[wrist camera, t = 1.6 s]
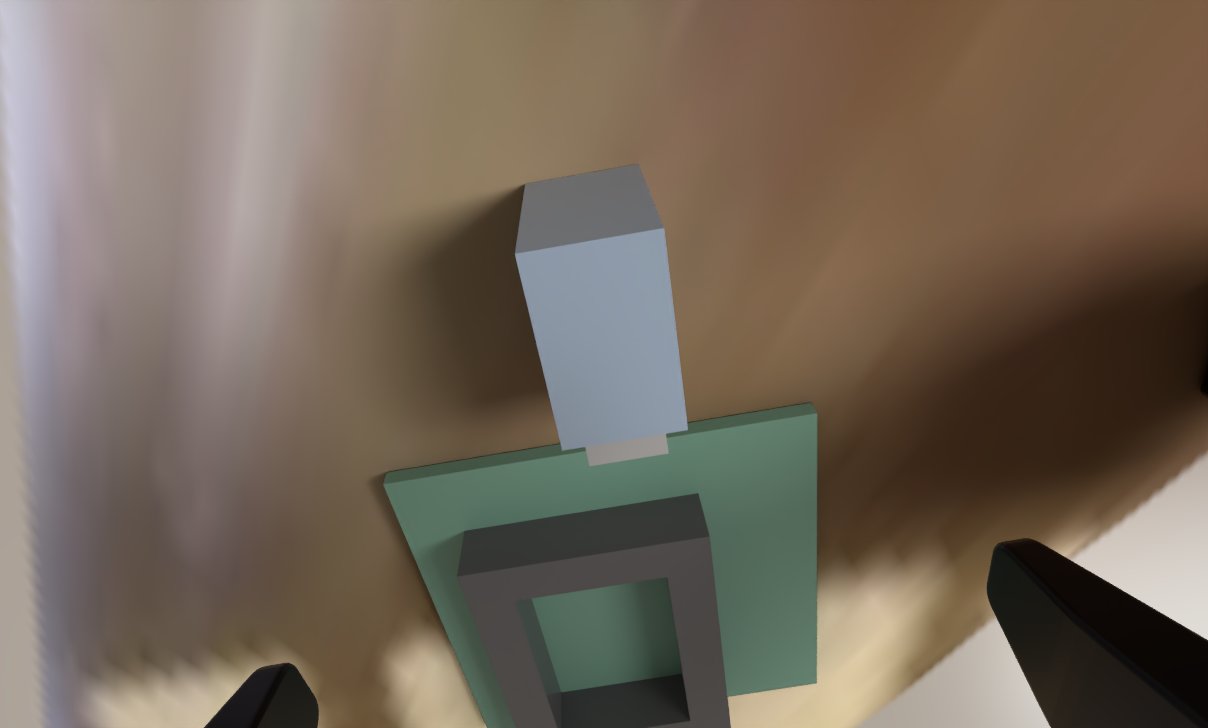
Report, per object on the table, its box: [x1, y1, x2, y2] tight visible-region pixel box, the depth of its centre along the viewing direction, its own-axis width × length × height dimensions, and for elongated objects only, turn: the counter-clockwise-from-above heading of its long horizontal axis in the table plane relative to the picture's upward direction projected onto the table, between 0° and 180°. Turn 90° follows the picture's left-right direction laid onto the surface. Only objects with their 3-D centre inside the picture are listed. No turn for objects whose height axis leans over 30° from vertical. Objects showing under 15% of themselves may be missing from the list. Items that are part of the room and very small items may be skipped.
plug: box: [515, 164, 688, 466], centre depth 17 cm, size 3×6×5 cm, turn 9°
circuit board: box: [383, 403, 817, 728], centre depth 25 cm, size 14×14×1 cm
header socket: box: [457, 493, 731, 728], centre depth 25 cm, size 8×11×2 cm
